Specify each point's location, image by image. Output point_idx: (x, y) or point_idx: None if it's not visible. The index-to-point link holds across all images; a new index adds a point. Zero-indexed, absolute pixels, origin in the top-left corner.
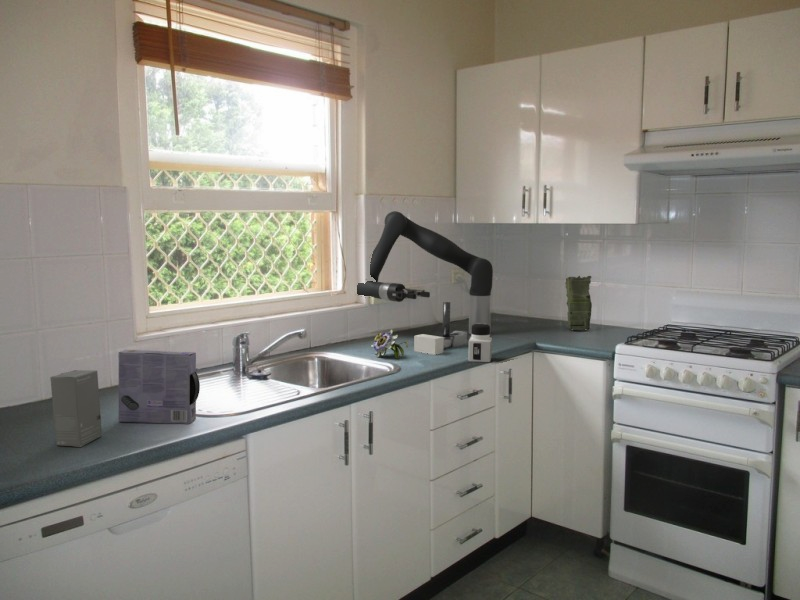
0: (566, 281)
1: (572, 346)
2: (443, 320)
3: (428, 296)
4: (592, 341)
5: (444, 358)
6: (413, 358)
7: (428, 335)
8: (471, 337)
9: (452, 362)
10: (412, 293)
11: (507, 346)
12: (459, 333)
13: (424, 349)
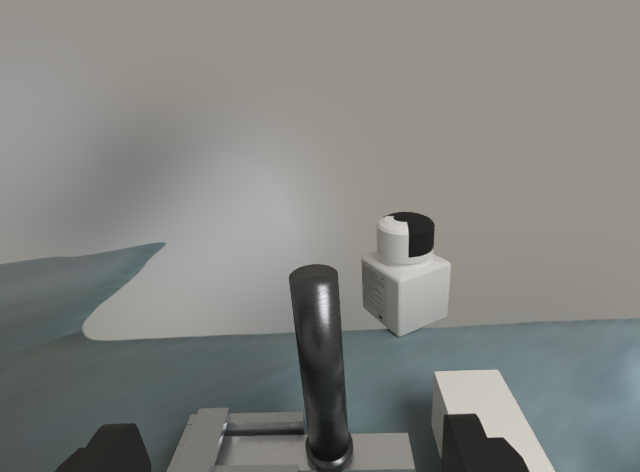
0: None
1: (118, 278)
2: (342, 376)
3: (149, 465)
4: (36, 278)
5: None
6: (631, 444)
7: None
8: (415, 272)
9: (501, 332)
10: (498, 464)
11: (174, 350)
12: (223, 432)
13: None
